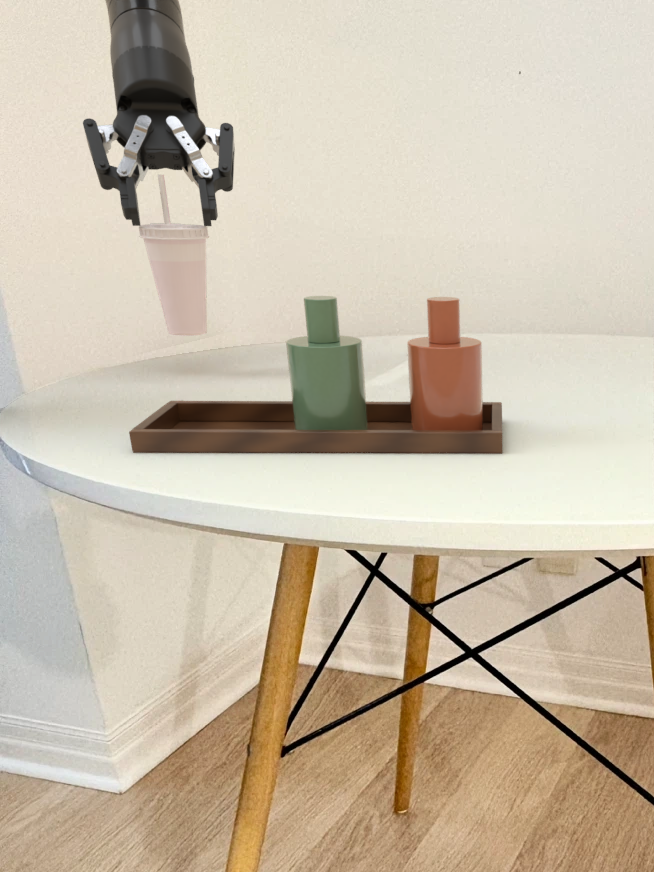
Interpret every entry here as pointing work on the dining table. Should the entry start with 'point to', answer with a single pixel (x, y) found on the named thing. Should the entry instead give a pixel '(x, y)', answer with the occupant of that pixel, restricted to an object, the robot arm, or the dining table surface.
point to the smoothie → (178, 270)
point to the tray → (303, 431)
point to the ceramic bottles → (345, 383)
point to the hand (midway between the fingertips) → (171, 219)
